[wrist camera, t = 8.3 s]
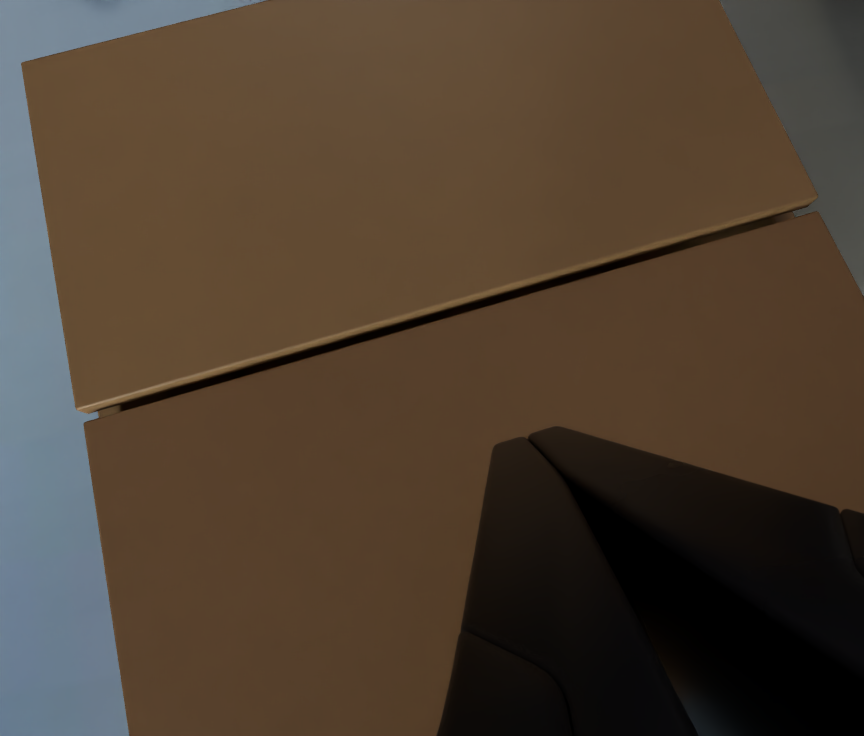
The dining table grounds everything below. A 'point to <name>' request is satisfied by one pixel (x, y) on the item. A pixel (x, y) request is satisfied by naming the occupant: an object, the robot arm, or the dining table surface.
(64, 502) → the dining table surface
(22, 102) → the dining table surface
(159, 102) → the carton
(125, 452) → the flap
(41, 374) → the dining table surface
